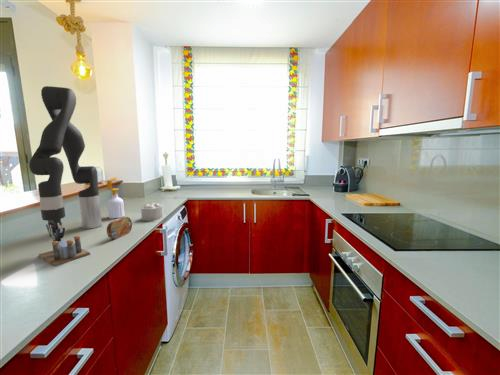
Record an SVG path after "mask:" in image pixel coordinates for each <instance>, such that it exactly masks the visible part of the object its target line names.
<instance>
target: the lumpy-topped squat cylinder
mask: <svg viewBox="0 0 500 375" xmlns="http://www.w3.org/2000/svg"><path fill="white" fill-rule="evenodd" d="M140 209H141V221H149V222H150V221H151V222H152V221H153V222H154V221H157V220H160V219H162V218H163V205H162V204H160V203H159V202H157V203H155V202H153V203H151V204H149V203H145V204H144V206H142V207H141V208H140Z"/></svg>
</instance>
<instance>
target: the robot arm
mask: <svg viewBox="0 0 500 375" xmlns="http://www.w3.org/2000/svg"><path fill="white" fill-rule="evenodd" d="M40 91H41V94H40V95H41V96H40V97H41V99H42V102H43V104H44V106H45V108H46V111H47V113H48V115H49V117H50V119H51V121H50V122H49V123H48V124H47V125H46V126H45V127H44V128H43V130H42V133H41V137H40V141H39V142H40V143H39V145H38V147H37V149H36V150H35V152H34V153H33V154H32V156H31V158H30V160H29V164H28V167H29V171H31V173H32V174H33V175H35V176H48V178H47V179H48V180H43V181H41V182H39V183H38V186H37V187H38V188H37V189H38V195H39V206H40V213H41V219H42V220H43V221H46V222H47V224H45V227H46V230H47V231H48V234H49V237H50V238H51V240H53V241H52V242H54V241H58V242H59V241H62V239H64V236H65V232H66V228H65V227H63V226H64V225H63V222H62V220H61V219H64V218H65V217H66V210H65V203H64V198H63V195H62V194H63V193H62V187H61V186H62V180H63V179H62V178H63V173H64V169H65V168H64V167H65V166H64V162H63V161H62V160H61V159H60V158H59V157H58V156H57V157H56V156H55V155H58V154H60V153H61V152H62V149H63V151H64V154H65V157H66V160H67V162H68V166H69V169H70V172H71V177H72V179H73V181H74V183H75V184H79V185H80V184H81V185H83V184H84V185H85V184H86V185H87V184H89V186H88V187H86V188H85V189H82V190H80V191H78V201H79V210H80V215H81V216H80V218H81V225H82V228H83V229H87V230H88V229H94V228H98V227H101V226H103V222H102V221H103V220H102V211H101V210H102V209H101V203H100V201H101V200H100V194H99V193H100V192H99V181H98V180H99V179H98V176H99V175H98V170H97V168H96V167H95V166H93V165H89V166H87V165H86V166H80V164H79V161H80V158H81V157H82V155H83V152H84V151H85V148H86V144H85V141H84V138H83V134H82V132H81V131H80V130H79V129H78V128H77V127H76V126H75V125H74V124H73V123H72V122H71V119H72V116H73V114H74V112H75V109H76V105H77V96H76V93H75V92H74V90H72V89H71V88H69V87H63V86H61V87H60V86H51V85H50V86H49V85H45V86H43V87H42V89H41V90H40ZM54 156H55V157H54Z"/></svg>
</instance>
